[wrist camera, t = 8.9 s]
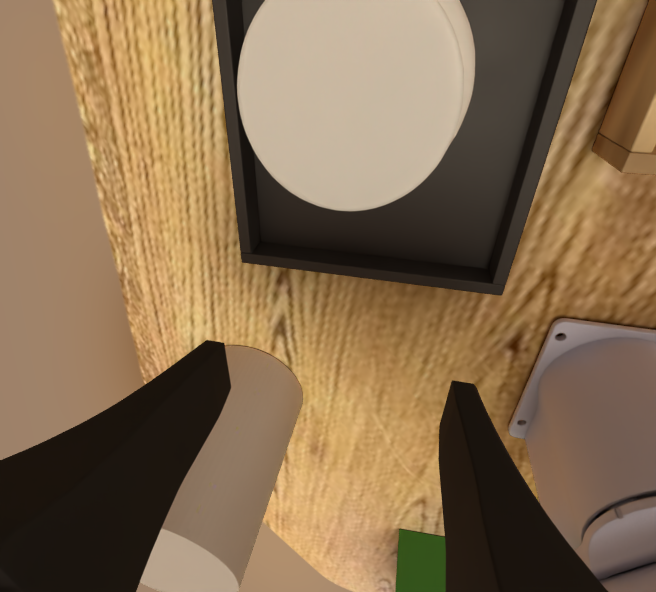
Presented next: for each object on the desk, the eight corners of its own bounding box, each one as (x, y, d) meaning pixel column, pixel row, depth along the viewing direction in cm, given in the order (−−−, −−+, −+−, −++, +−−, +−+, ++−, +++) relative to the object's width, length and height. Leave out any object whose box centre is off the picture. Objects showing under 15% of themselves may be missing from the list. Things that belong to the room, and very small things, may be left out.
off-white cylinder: (191, 337, 28) (62, 501, 18) (302, 356, 27) (229, 544, 17) (206, 413, 32) (110, 577, 23) (302, 433, 31) (245, 616, 21)
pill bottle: (290, 73, 17) (163, 112, 9) (386, -66, 14) (328, -199, 6) (383, 168, 18) (348, 276, 10) (490, 60, 15) (560, 93, 7)
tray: (496, 275, 21) (502, 296, 19) (254, 246, 23) (241, 262, 21) (658, -261, 11) (698, -312, 9) (212, -224, 13) (181, -260, 11)
